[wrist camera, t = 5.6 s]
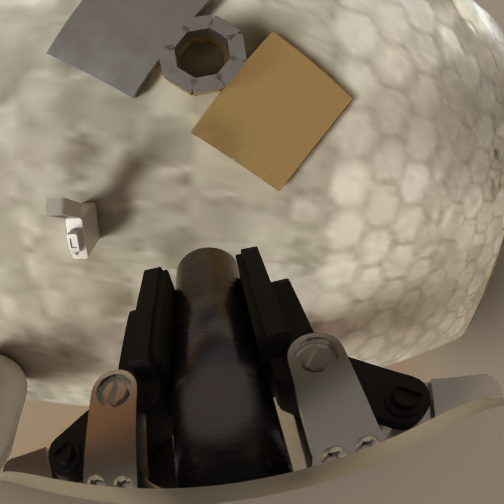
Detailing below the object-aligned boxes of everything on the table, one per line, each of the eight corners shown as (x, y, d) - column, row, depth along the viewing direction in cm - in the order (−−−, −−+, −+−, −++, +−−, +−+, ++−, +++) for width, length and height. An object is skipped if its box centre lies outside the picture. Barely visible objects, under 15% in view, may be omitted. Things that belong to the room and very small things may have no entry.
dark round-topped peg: (263, 263, 11) (354, 504, 4) (219, 315, 12) (258, 533, 5) (194, 225, 10) (218, 526, 2) (155, 286, 11) (142, 533, 3)
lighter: (100, 238, 28) (75, 280, 21) (86, 239, 28) (59, 279, 21) (93, 174, 25) (60, 200, 18) (78, 175, 25) (42, 201, 18)
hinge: (345, 98, 25) (371, 99, 21) (275, 187, 29) (289, 203, 25) (126, -39, 14) (115, -60, 10) (53, 54, 18) (28, 49, 14)
